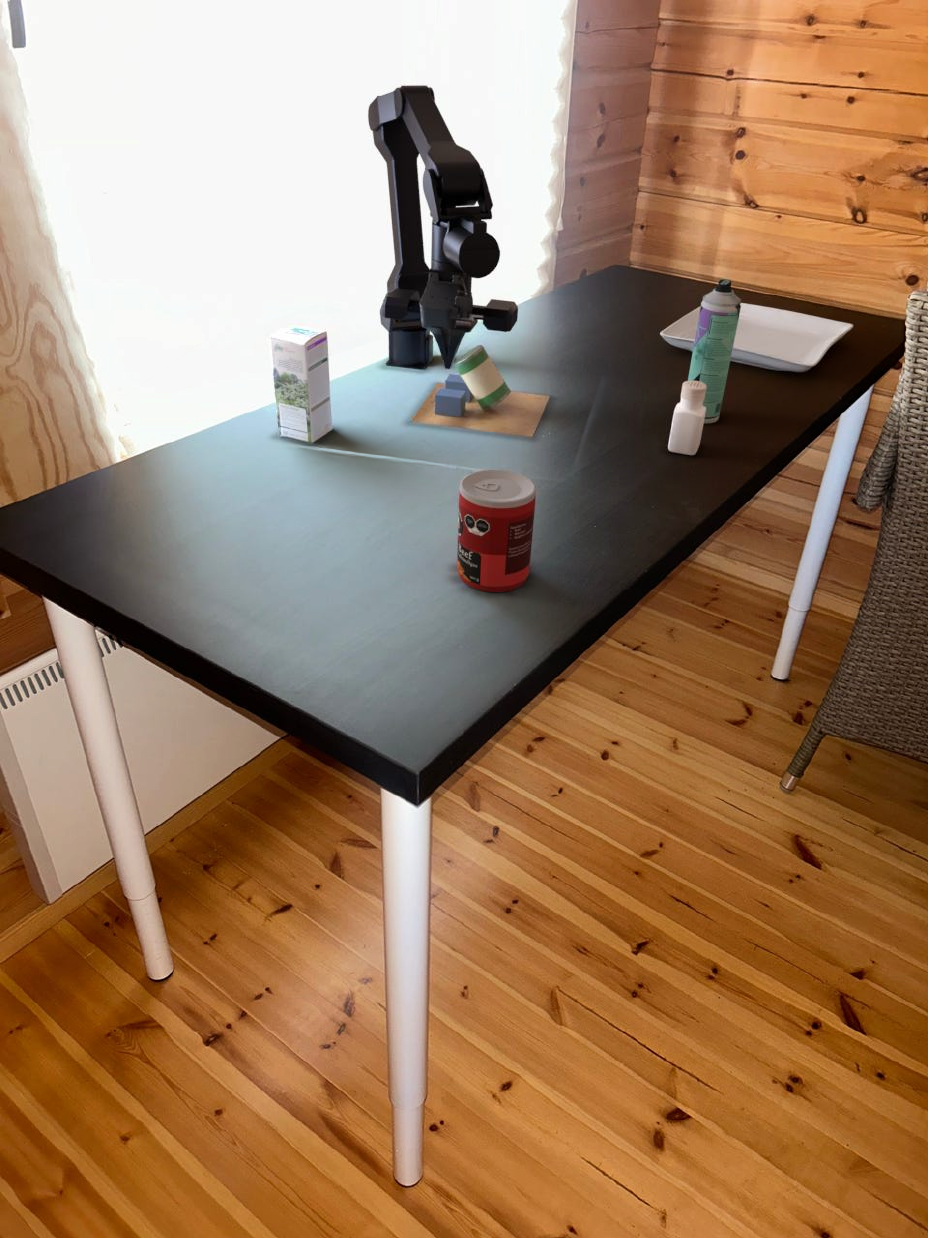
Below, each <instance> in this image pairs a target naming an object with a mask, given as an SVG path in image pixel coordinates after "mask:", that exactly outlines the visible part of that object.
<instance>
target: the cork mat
mask: <svg viewBox="0 0 928 1238" xmlns="http://www.w3.org/2000/svg"><path fill="white" fill-rule="evenodd" d="M440 388H445V382H437V384H436V385H435V386H434V388H433V389H432V390H431V392H430V393H429V395H428V396H427V397H426V399H425V400H424V402H423V403H422V404H421V405H420V407H419V408H418V410H417V411H416V413H415V414H414V416H412V418H411V420H410V422H411V423H419V424H426V425H435V426H443V427H450V428H457V429H465V430H474V431H480V432H481V431H482V432H489V433H496V434H506V435H513V436H520V437H527V438H528V437H530V438H533V437H534V435H535V434H536V433H535V432H536V430H537V428H538V427H539V423H540V422H541V420H542V417H543V414H544V412H545V410H546V407H547V405H548V403H549V400H550V398H551V396H550V395H545V394H535V393H528V392H520V391H519V392H518V391H511V390H510V391H511V392H510V394H509V395H508V396H507V397H506V398H505V399H504V400H503V401H501V402H500V403H498V404H497V405H495V406H493V407H492V408H489V409H487V410H482V409H481V407H480V405H479V404H478V402H477V401H476V399H475V398H474V397H473V398H472V400H471V402H466V407H465V411H464V413H463V415H462V416H461V417H453V416H445V415H437V414H435V394H436V393H437V392H438V390H439V389H440Z"/></svg>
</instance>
